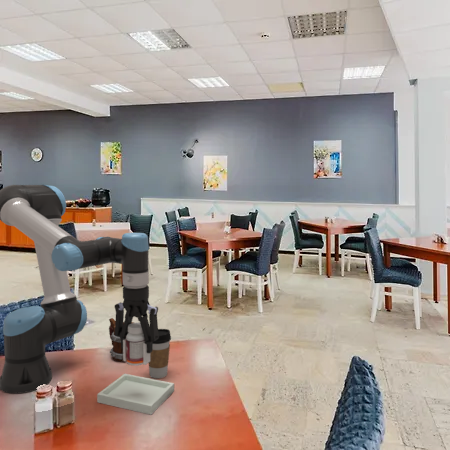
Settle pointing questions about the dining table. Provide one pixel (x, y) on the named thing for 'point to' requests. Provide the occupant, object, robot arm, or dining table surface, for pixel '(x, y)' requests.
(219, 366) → the dining table surface
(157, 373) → the coffee cup
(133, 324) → the pill bottle
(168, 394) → the tray
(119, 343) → the mug
